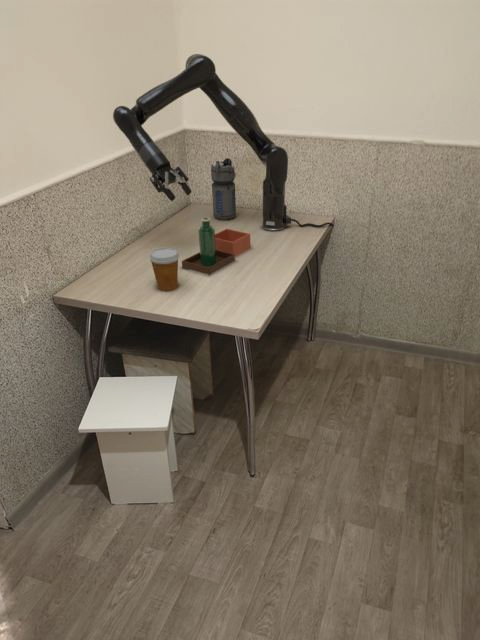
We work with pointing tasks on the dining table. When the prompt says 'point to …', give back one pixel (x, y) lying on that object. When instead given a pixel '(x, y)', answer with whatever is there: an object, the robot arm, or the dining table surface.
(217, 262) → the tray
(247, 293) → the dining table surface
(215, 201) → the beverage bottle
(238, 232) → the bin
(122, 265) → the dining table surface
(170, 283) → the disposable coffee cup
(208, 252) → the bottle
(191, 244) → the dining table surface
